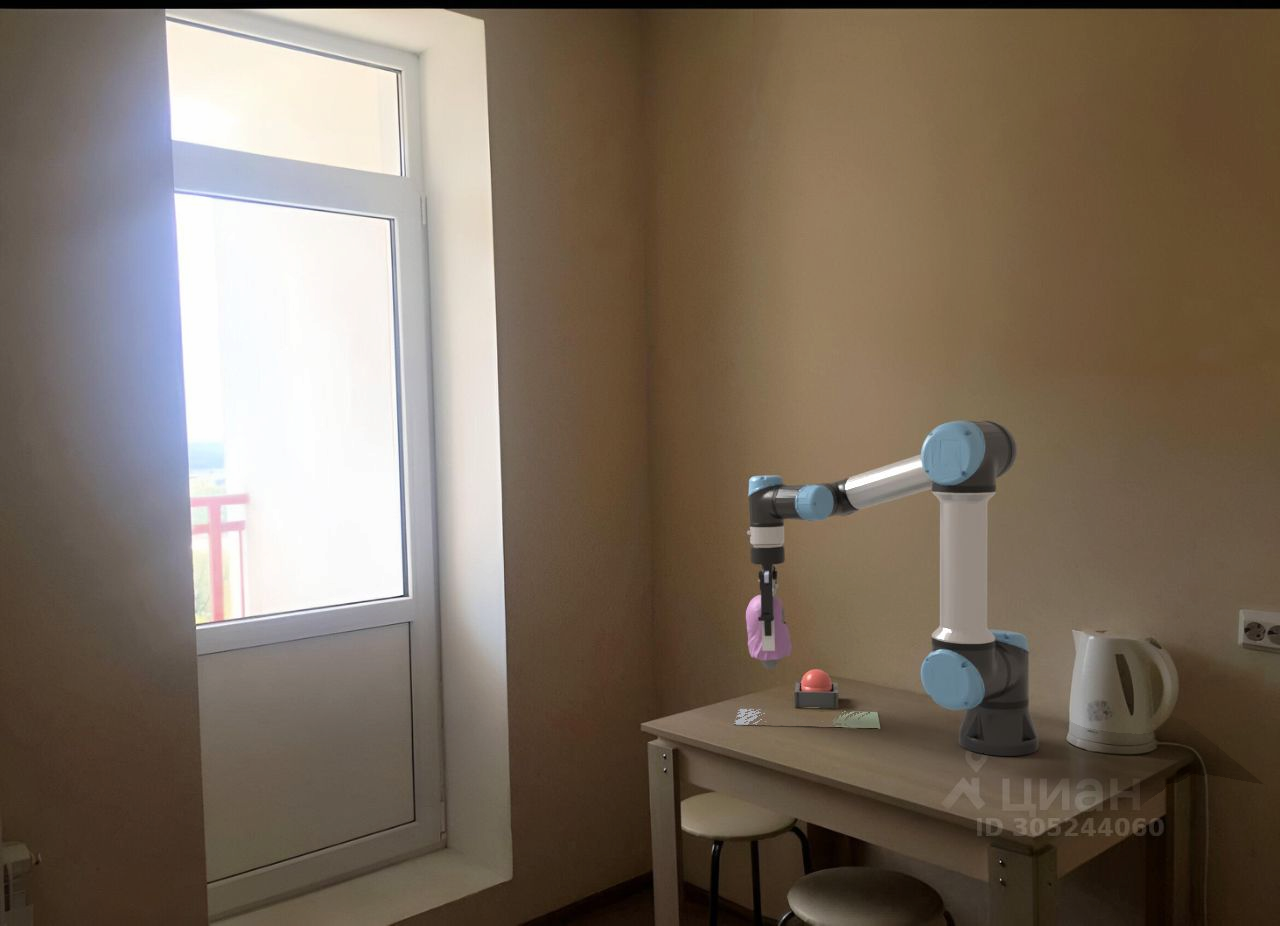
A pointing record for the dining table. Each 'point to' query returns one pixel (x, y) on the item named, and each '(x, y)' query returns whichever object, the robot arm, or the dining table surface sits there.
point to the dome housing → (816, 697)
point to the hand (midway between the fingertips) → (770, 645)
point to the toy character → (755, 631)
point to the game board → (864, 722)
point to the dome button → (816, 681)
